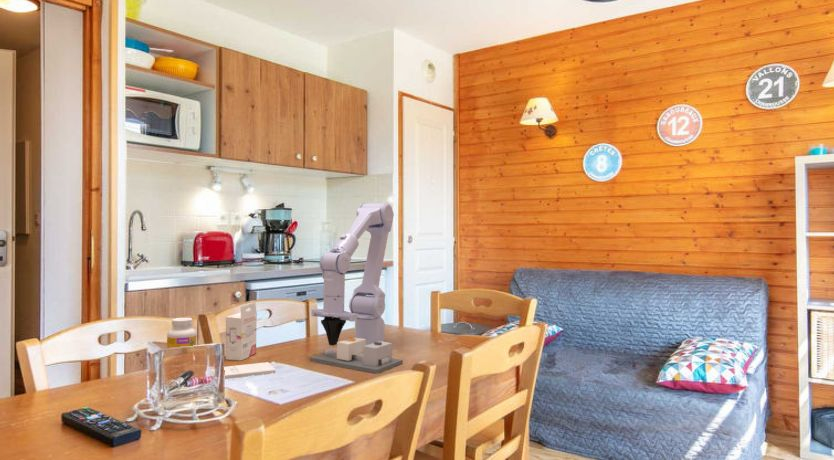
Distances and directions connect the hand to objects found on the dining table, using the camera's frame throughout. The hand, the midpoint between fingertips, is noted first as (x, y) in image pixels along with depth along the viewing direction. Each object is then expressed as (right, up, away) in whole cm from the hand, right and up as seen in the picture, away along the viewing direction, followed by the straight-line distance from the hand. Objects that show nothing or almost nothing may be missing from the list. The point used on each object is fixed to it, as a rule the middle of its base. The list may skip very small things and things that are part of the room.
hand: (333, 344), depth 150 cm
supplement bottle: (-36, -4, -15) cm, 39 cm away
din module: (+5, -3, -3) cm, 7 cm away
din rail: (+7, -4, -4) cm, 9 cm away
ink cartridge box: (-26, -4, 0) cm, 26 cm away
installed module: (+13, -3, -8) cm, 15 cm away
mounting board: (+7, -4, -4) cm, 9 cm away
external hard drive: (-19, -4, -15) cm, 25 cm away
